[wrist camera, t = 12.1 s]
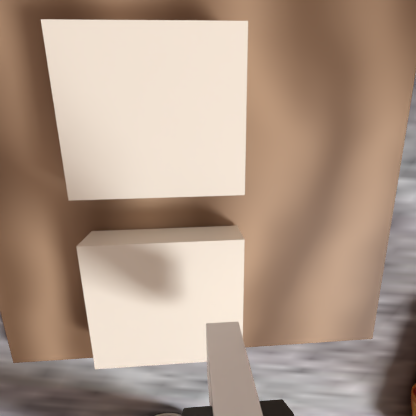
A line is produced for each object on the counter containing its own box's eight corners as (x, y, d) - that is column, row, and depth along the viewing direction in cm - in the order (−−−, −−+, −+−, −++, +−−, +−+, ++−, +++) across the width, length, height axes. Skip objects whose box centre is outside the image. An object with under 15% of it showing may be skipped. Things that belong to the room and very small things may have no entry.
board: (25, 346, 21) (13, 363, 19) (-54, 7, 15) (-80, -6, 13) (360, 325, 22) (372, 338, 21) (406, 10, 16) (427, -2, 15)
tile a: (236, 186, 17) (87, 190, 16) (238, 39, 15) (66, 39, 14) (244, 195, 14) (68, 200, 14) (248, 20, 12) (40, 19, 12)
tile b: (235, 330, 20) (107, 338, 19) (236, 224, 18) (92, 229, 17) (242, 359, 17) (95, 369, 17) (244, 239, 15) (76, 246, 15)
